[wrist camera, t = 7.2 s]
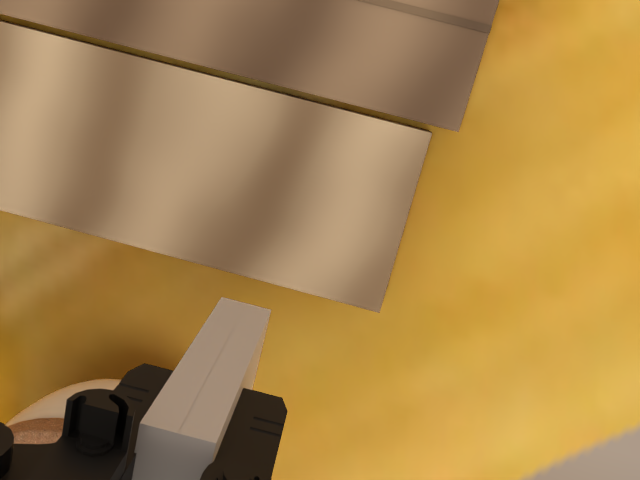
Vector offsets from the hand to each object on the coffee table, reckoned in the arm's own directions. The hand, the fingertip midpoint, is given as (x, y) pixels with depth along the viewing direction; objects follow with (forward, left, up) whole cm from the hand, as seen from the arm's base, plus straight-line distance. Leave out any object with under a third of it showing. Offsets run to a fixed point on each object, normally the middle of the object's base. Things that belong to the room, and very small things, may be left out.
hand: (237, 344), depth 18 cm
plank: (-9, +3, -10) cm, 14 cm away
